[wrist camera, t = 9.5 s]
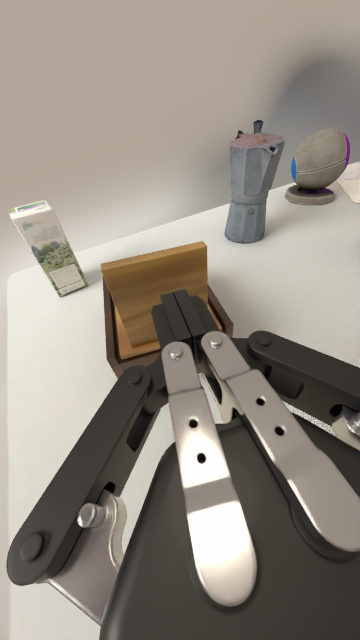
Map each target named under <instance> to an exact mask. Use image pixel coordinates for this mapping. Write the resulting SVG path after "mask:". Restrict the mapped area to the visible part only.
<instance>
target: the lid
mask: <svg viewBox="0 0 360 640" xmlns="http://www.w3.org/2000/svg"><path fill="white" fill-rule="evenodd" d="M101 272H102V274H103V276H104V279H105V281H106V284H107V286H108V289H109V291H110V294H111V296H112V299H113V301H114V304H115V314H116V324H117V334H118V343H119V353H120V357H121V359H126V358H129V357H133V356H137V355H140V354H144V353H147V352H151V351H154V350H158V349H161V348H160V345H159V341H158V337H157V334H156V330H155V326H154V322H153V318H152V315H151V311H152V308H153V306H155V305H159V304H161V300H160V295H161V294H165V293H169V292H172V293H173V291H177V290H181V289H186V290H187V292H188V294H189V296H194V295H197V296H198V297H200V298H201V299H203V301H204V303H205V304H206V307H207V308H208V310H209V312H210V313H211V315H212V317H213V319H214V320H215V322H216V324H217V326H218V327H219V329H220V331H222V327H221V325H220V324H219V322H218V320H217V318H216V317H215V315H214V313H213V312H212V310H211V308H210V306H209V305H208V288H207V246H206V245H205V243H204V242H203V241H201V242H197V243H193V244H188V245H184V246H179V247H175V248H170V249H166V250H161V251H157V252H152V253H148V254H143V255H139V256H134V257H130V258H126V259H121V260H117V261H112V262H108V263H103V264H101Z"/></svg>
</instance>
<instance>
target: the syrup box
mask: <svg viewBox="0 0 360 640" xmlns="http://www.w3.org/2000/svg"><path fill="white" fill-rule="evenodd" d="M8 211H9V214H10V217H11V219H12V221H13V223H14V224H15V226H16V227H17V229H18V231H19V232H20V234H21V235H22V237H23V239H24V240H25V242H26V244H27V245H28V247H29V248H30V250H31V252H32V253H33V255H34V257H35V258H36V260H37V262H38V263H39V265H40V267H41V268H42V270H43V271H44V273H45V275H46V276H47V278H48V280H49V281H50V283H51V284H52V286H53V288H54V289H55V291H56V293H57V294H58V296H59V297H61V296H64V295H66V294H69V293H71V292H73V291H76V290H78V289H81V288H83V287H85V286H88V283H87V281H86V279H85V277H84V275H83V273H82V270H81V268H80V266H79V264H78V262H77V260H76V258H75V255H74V253H73V251H72V249H71V247H70V245H69V243H68V241H67V238H66V236H65V234H64V232H63V230H62V228H61V225H60V223H59V221H58V219H57V216H56V214H55V212H54V210H53V209H52V208H51V207H50V206H49V205H48V203H47V202H46V201H45V200H43V201H39V202H35V203H32V204H28V205H24V206H20V207H17V208H13V209H9V210H8Z"/></svg>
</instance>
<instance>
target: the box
mask: <svg viewBox="0 0 360 640" xmlns="http://www.w3.org/2000/svg"><path fill="white" fill-rule="evenodd" d="M207 288H208V305H209V306H210V308H211V310H212V312H213V313H214V315H215V317H216V318H217V320H218V322H219V324H220V325H221V327H222V331H221V332H223V333H225V334H226V335H227V336H228V337H231V338H232V335H233V323H232V321H231V320H230V318H229V317H228V315H227V313H226V312H225V310H224V309H223V307H222V306H221V304H220V303H219V301H218V299H217V298H216V296H215V295H214V293H213V292H212V290H211V288H210V287H209V285H208V284H207ZM103 291H104V312H105V333H106V353H107V361H108V363H109V364H110V366H111V368H112V370H113V371H114V373H115V375H116V377H117V378H118V379H119V377H120V376H121V374H122V373H123V372H124V371H125V370H126V369H127V368H129V367H131V366H135V365H141V366H144V367H146V366H148V365H150V364H151V363H153V362H154V361H155V360H156V359H157V358H158V356H159V354H160V351H161V349H158V350H154V351H151V352H147V353H144V354H140V355H137V356H133V357H129V358H126V359H121V357H120V353H119V343H118V334H117V324H116V314H115V304H114V301H113V299H112V296H111V294H110V291H109V289H108V286H107V284H106V281H105V279H104V276H103ZM196 369H197V372H198V373H201V372H202V367H201V365H200V364H197V365H196Z"/></svg>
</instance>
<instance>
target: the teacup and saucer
mask: <svg viewBox="0 0 360 640" xmlns="http://www.w3.org/2000/svg"><path fill="white" fill-rule="evenodd" d="M337 182H338V183H339V184H340V186H341V187H342V188H343V189H344V191H345V192H346V193H347V195H348V196H349V197H350V198H351V200H352V201H353V202H354V203H360V180H341V181H337Z"/></svg>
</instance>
